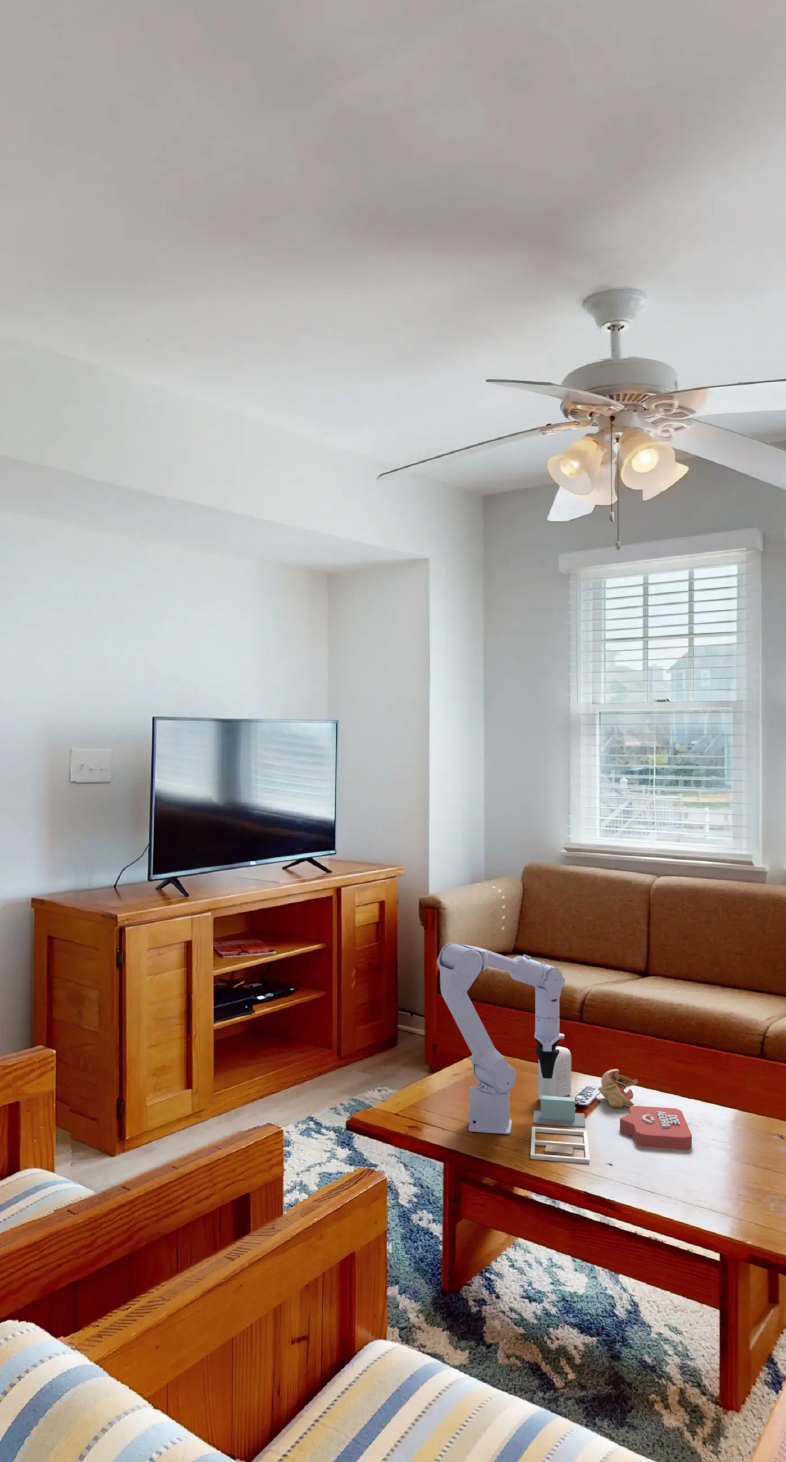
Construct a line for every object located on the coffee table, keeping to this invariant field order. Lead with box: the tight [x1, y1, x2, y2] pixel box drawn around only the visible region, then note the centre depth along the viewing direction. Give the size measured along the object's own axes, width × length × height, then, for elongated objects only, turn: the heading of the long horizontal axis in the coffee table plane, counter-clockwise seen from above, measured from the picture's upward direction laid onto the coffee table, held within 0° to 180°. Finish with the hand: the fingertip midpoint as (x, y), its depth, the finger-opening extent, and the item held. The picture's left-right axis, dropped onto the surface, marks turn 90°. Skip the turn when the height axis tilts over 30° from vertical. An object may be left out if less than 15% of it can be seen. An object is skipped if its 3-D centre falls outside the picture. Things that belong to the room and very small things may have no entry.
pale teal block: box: [540, 1095, 576, 1121], centre depth 228 cm, size 8×2×5 cm, turn 81°
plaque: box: [619, 1105, 693, 1151], centre depth 220 cm, size 18×4×15 cm
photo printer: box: [537, 1046, 572, 1101], centre depth 243 cm, size 10×4×12 cm, turn 134°
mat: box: [532, 1109, 586, 1129], centre depth 227 cm, size 12×8×1 cm, turn 81°
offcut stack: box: [544, 1144, 575, 1157], centre depth 208 cm, size 6×4×2 cm, turn 77°
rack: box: [530, 1126, 591, 1164], centre depth 212 cm, size 12×16×1 cm
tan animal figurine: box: [597, 1068, 639, 1108], centre depth 238 cm, size 9×10×10 cm
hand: (547, 1072), depth 229 cm, fingers open, 7 cm apart
